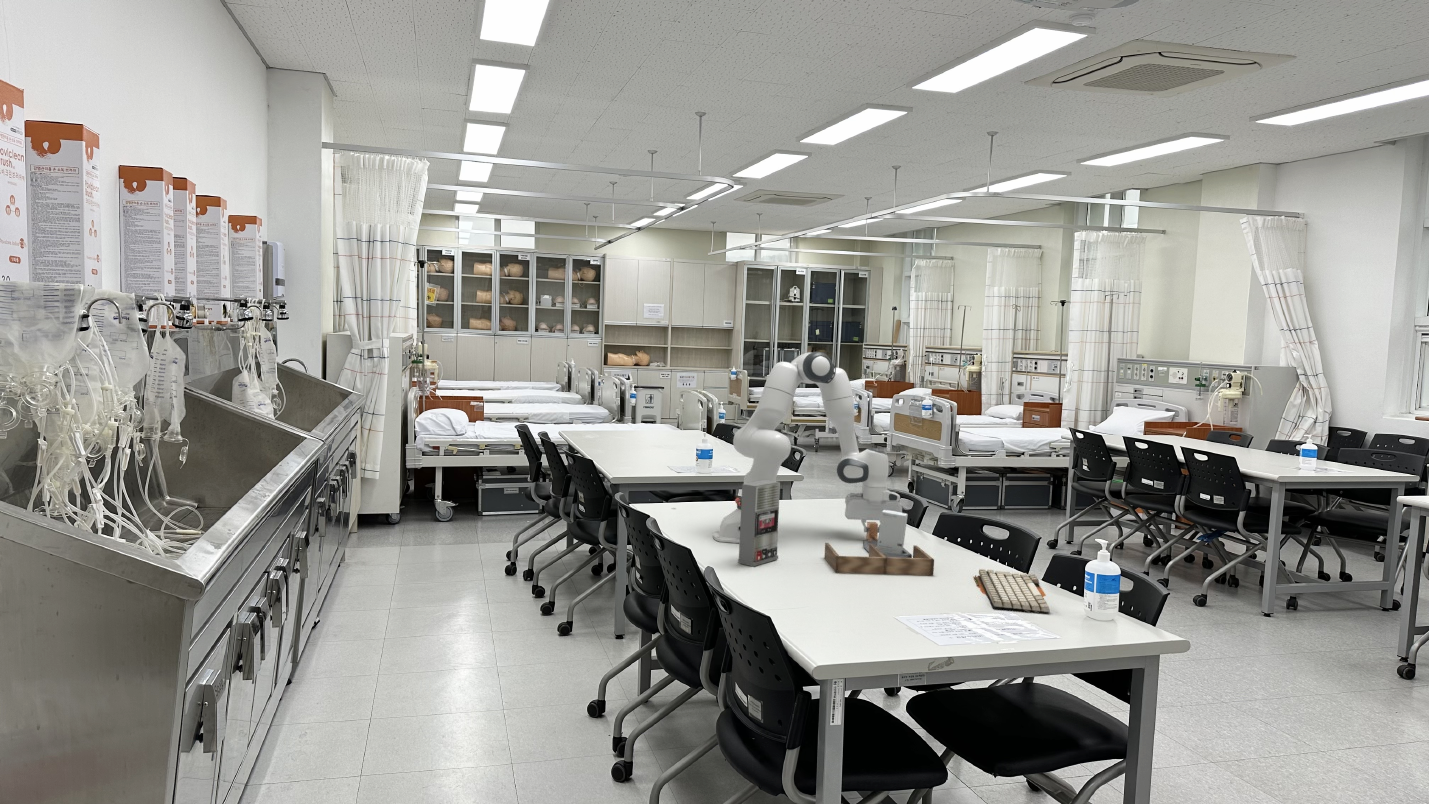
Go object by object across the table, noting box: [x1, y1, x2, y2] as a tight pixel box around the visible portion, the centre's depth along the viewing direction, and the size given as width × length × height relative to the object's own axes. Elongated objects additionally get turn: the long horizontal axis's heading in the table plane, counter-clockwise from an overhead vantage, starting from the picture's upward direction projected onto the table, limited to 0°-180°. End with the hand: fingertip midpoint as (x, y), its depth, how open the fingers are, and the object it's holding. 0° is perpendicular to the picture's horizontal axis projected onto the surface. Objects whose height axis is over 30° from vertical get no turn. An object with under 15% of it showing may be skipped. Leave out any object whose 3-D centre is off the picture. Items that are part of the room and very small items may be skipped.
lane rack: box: [823, 542, 935, 576], centre depth 283 cm, size 30×19×5 cm, turn 93°
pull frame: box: [862, 521, 913, 558], centre depth 307 cm, size 12×33×6 cm, turn 3°
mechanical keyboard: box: [972, 568, 1051, 614], centre depth 257 cm, size 38×19×3 cm, turn 171°
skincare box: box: [876, 510, 908, 554], centre depth 296 cm, size 8×6×15 cm
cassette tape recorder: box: [737, 480, 781, 568], centre depth 281 cm, size 14×6×25 cm, turn 143°
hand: (872, 532), depth 321 cm, fingers closed on pull frame, 3 cm apart
